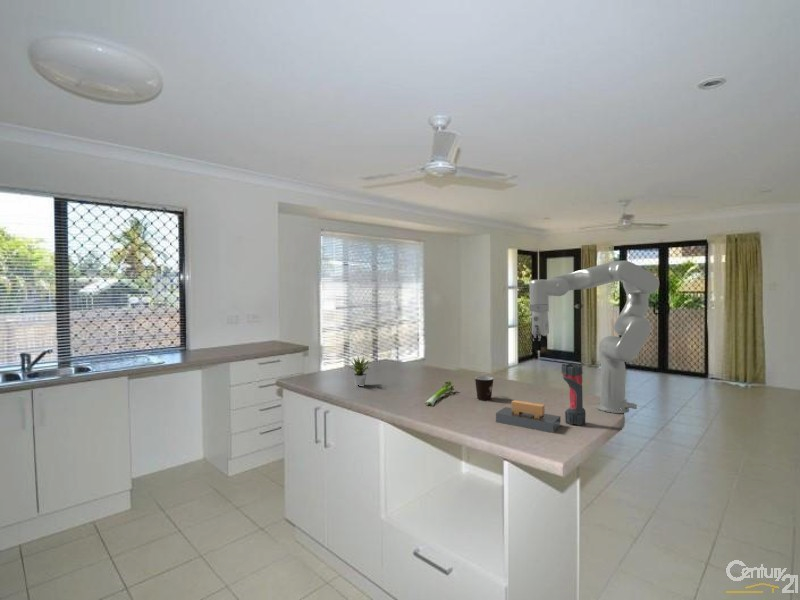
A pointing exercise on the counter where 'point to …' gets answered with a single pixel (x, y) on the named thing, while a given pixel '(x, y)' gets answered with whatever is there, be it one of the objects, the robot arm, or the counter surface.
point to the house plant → (359, 371)
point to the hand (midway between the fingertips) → (540, 348)
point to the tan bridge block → (527, 408)
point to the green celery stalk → (440, 393)
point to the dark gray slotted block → (528, 420)
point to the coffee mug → (484, 387)
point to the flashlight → (574, 394)
